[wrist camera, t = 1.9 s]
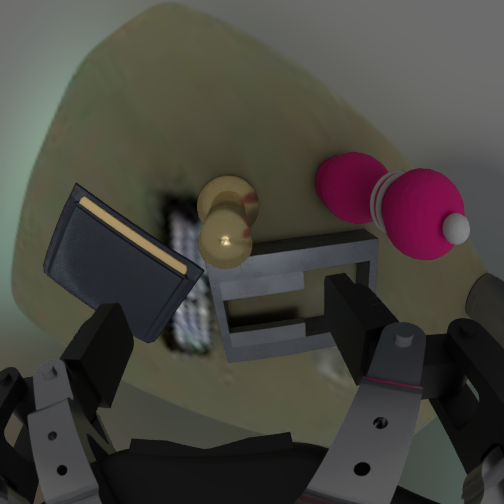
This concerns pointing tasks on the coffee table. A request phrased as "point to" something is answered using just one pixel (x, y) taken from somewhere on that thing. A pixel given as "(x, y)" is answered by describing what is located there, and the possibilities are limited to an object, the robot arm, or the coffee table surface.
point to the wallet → (117, 265)
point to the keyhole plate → (287, 290)
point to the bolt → (226, 221)
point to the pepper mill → (395, 203)
